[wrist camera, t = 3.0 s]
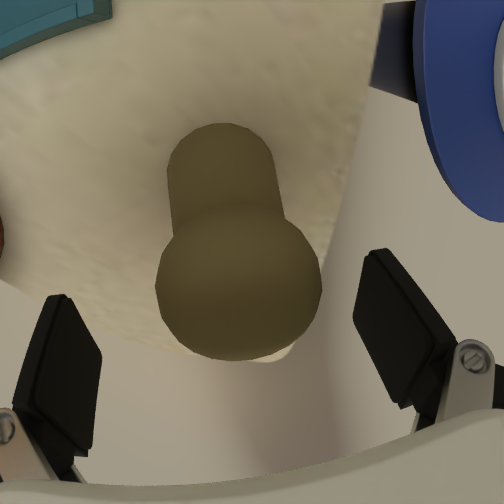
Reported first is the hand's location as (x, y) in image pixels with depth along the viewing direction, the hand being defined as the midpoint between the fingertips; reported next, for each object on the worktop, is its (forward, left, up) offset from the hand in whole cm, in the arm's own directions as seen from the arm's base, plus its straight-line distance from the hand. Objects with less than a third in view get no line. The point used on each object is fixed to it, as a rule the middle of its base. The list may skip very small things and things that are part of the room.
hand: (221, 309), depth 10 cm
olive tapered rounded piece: (-1, 0, -10) cm, 10 cm away
